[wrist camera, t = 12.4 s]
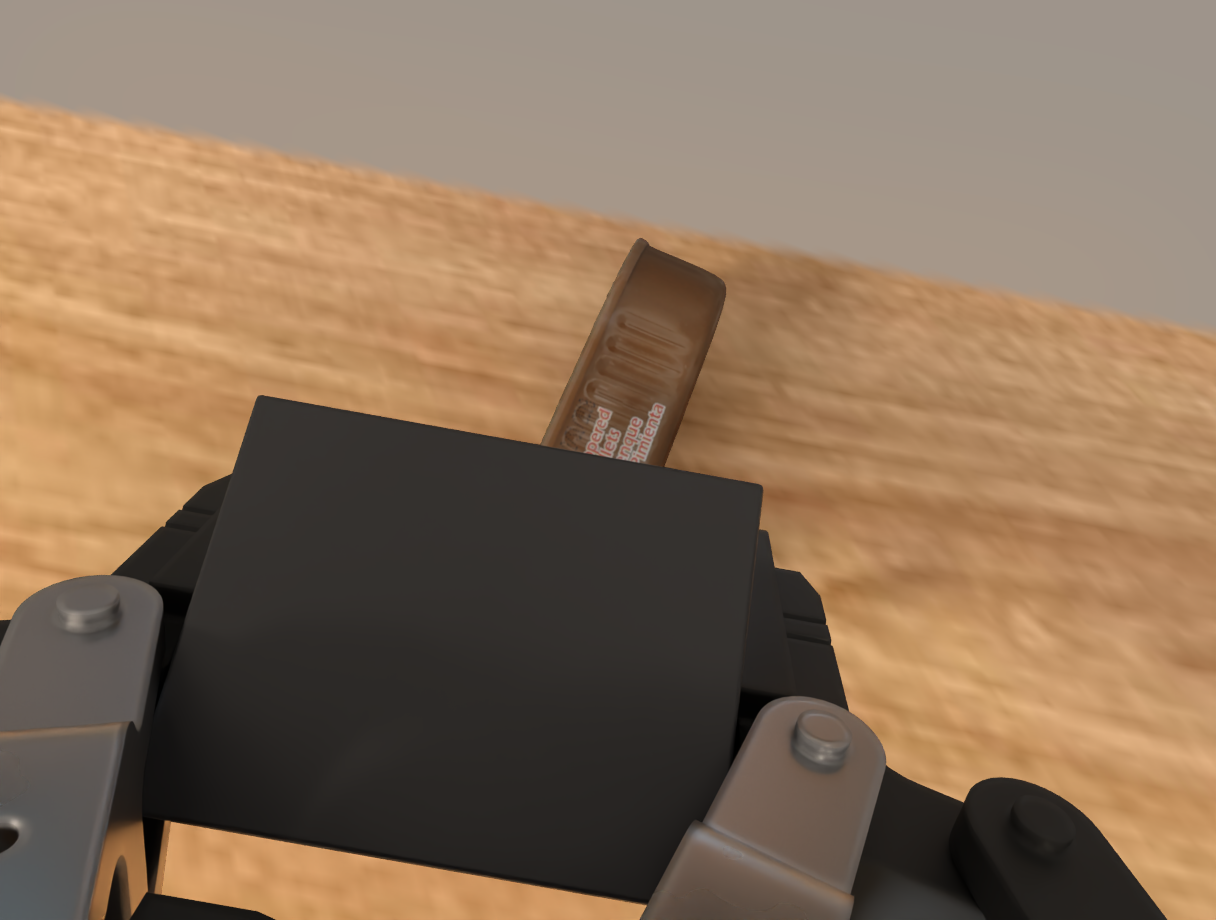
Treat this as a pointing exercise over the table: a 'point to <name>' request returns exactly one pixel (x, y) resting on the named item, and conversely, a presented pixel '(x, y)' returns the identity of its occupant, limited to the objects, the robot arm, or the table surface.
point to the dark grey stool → (459, 652)
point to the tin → (640, 360)
